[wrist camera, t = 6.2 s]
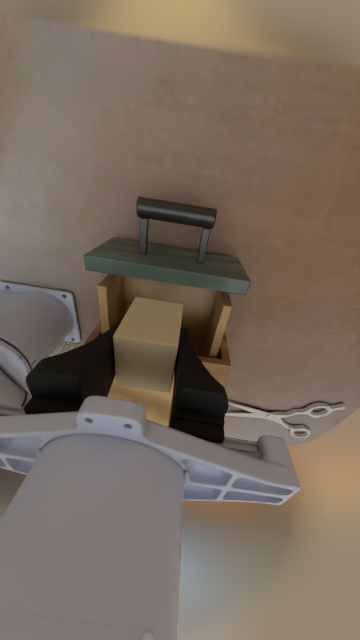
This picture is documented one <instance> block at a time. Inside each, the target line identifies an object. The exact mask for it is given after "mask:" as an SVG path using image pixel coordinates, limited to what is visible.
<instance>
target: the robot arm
mask: <svg viewBox="0 0 360 640" xmlns="http://www.w3.org/2000/svg"><path fill="white" fill-rule="evenodd" d="M64 294H65V295H66V296H64ZM122 320H123V319H122ZM122 320H120V321H119V322H118V323H117V324H115V325H114V326H113V327H111V328H110V329H109V330H107V331H106V332H105V333H103V334H102V335H100V336H99V337H97V338H95V339H94V340H92V341H90V342H88V343H86V344H84V345H82V346H80V347H78V348H75V349H73V350H70V351H68V352H65V353H62V354H59V355H55V356H52V357H49V356H50V355H51V354H52V353H53V351H54V350H55V349H56V348H57V347H58V346H59V345H60V343H61V342H62V341H63V340H64V341H70V342H77V343H78V342H80V341H81V336H80V330H79V324H78V319H77V313H76V307H75V301H74V296H73V294H72V293H71V292H67V291H60V290H54V289H47V288H41V287H35V286H28V285H22V284H16V283H9V282H3V281H0V468H4V469H8V470H11V471H15V472H19V473H22V474H26V475H27V476H26V478H25V480H24V481H23V483H22V485H21V486H20V488H19V490H18V492H17V493H16V495H15V497H14V499H13V500H12V502H11V503H10V505H9V507H8V508H7V510H6V512H5V513H4V515H3V517H2V518H1V520H0V640H176V638H177V620H178V600H179V599H178V598H179V579H180V558H181V539H182V519H183V500H194V501H197V500H198V501H237V502H255V503H265V504H274V505H281V504H283V503H284V502H285V501H286V500H288V499H289V498H290V497H291V496H293V495H294V494H295V493H296V492H298V491H299V490H300V489H301V487H300V485H299V481H298V478H297V475H296V472H295V469H294V467H293V463H292V460H291V457H290V455H289V452H288V449H287V446H286V443H285V440H284V439H283V438H280V437H273V436H261V437H260V438H259V439H258V441H257V442H254V441H248V440H241V439H234V438H228V437H224V428H223V426H224V416H225V414H226V412H227V410H228V406H229V404H228V398H227V394H226V391H225V388H224V386H222V385H221V384H220V383H219V382H218V381H217V380H216V379H215V378H214V377H213V376H212V375H211V374H210V372H209V371H208V370H207V369H206V367H205V366H204V365H203V363H202V362H201V360H200V358H199V357H198V355H197V353H196V351H195V348H194V346H193V344H192V341H191V338H190V335H189V330H188V329H187V328H181V329H180V337H179V345H178V351H177V357H176V363H175V369H174V388H173V396H172V403H171V410H170V418H169V425H168V427H167V426H164V425H161V424H159V423H156V422H153V421H150V420H148V419H146V410H145V407H144V406H142V405H141V404H140V403H138V402H135V401H131V400H124V399H117V398H111V397H108V394H109V391H110V388H111V386H112V383H113V380H114V378H115V375H116V373H115V357H114V341H113V336H114V334H115V332H116V330H117V328H118V327H119V325H120V323H121V321H122ZM73 338H74V339H73ZM28 390H29V391H30V393H31V395H32V398H31V395H30V393H29V392H28Z"/></svg>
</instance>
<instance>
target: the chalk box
mask: <svg viewBox="0 0 360 640" xmlns="http://www.w3.org/2000/svg"><path fill="white" fill-rule="evenodd" d="M183 306H184V305H183V304H178V303H172V302H166V301H159V300H153V299H146V298H140V297H135V299H134V300H133V302H132V304H131V306H130V307H129V309H128V311H127V313H126V314H125V316H124V318H123V320H122V321H121V323H120V325H119V327H118V328H117V330H116V332H115V334H114V336H113V341H114V357H115V373H116V385H119V386H125V387H132V388H139V389H145V390H152V391H158V392H165V393H170V392H171V386H172V380H173V375H174V369H175V363H176V357H177V351H178V345H179V337H180V329H181V322H182V314H183Z"/></svg>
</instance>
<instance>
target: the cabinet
mask: <svg viewBox="0 0 360 640" xmlns="http://www.w3.org/2000/svg"><path fill="white" fill-rule="evenodd" d="M100 335H102V332H101V321H100V322H99V324H98V325H97V327H96V328H95V329H94V331H93V332H92V333H91V335H90V336H89V338H88V339H87V340H86V342H85V343H84V344H86V343H88V342H90V341H92V340H94V339H95V338H97V337H99V336H100ZM198 357H199V358H200V360H201V362H202V363H203V365H204V366H205V367H206V369H207V370H208V371H209V372H210V374H211V375H212V376H213V377H214V378H215V379H216V380H217V381H218V382H219V383H220V384H221V385H222V386H223V385H224V383H225V380H226V378H227V375H228V373H229V370H230V367H231V364H230V358H229V353H228V347H227V341H226V336H225V332H224V335H223V338H222V341H221V344H220V347H219V350H218V353H217V357H216V358H210V357H203V356H198ZM173 388H174V375H173V380H172V386H171V392H170V393H165V392H158V391H152V390H145V389H139V388H132V387H125V386H119V385H116V375H115V378H114V380H113V383H112V386H111V388H110V391H109V394H108V397H111V398H117V399H124V400H131V401H135V402H138V403H140V404H141V405H142V406H144V407H145V410H146V419H148V420H150V421H153V422H156V423H159V424H161V425H164V426H167V427H168V425H169V418H170V410H171V403H172V396H173Z"/></svg>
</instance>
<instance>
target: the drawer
mask: <svg viewBox="0 0 360 640" xmlns="http://www.w3.org/2000/svg"><path fill="white" fill-rule="evenodd" d="M136 209H137V216H138V217H141V218H140V241H139V242H137V241H131V240H125V239H118V238H111V239H110V240H108V241H106V242H105V243H103V244H101V245H100V246H98V247H96V248H95V249H93V250H92V251H90V252H88V253H87V254H85V255H84V261H85V269H86V270H90V271H96V272H102V273H109V274H108V275H107V276H106V277H105V278H104V279H103V280H102V281H101V282H100V283H99V284H98V285H97V291H98V301H99V311H100V321H101V332H102V334H103V333H105V332H106V331H107V330H109V329H110V328H111V327H113V326H114V325H115V324H117V323H118V322H119V321H120V320H122V319H123V318H124V316H125V314H126V313H127V311H128V309H129V307H130V306H131V304H132V302H133V300H134V299H135V297H140V298H146V299H153V300H159V301H166V302H172V303H178V304H183V305H184V306H183V314H182V322H181V328H187V329H188V330H189V335H190V338H191V341H192V344H193V346H194V348H195V351H196V353H197V355H198V356H203V357H210V358H216V357H217V353H218V350H219V347H220V344H221V341H222V338H223V335H224V332H225V329H226V326H227V322H228V319H229V316H230V313H231V310H232V304H231V300H230V297H229V293H235V294H242V295H246V294H247V291H248V289H249V286H250V283H251V281H250V279H249V277H248V275H247V274H246V272H245V270H244V268H243V266H242V264H241V263H240V261H239V259H238V258H237V257H231V256H225V255H218V254H212V253H206V248H207V243H208V239H209V234H210V229H213V227H214V224H215V219H216V214H217V210H216V209H213V208H207V207H201V206H194V205H188V204H182V203H176V202H170V201H164V200H157V199H151V198H145V197H138V200H137V207H136ZM149 219H154V220H160V221H166V222H173V223H179V224H185V225H191V226H197V227H203V229H202V234H201V240H200V245H199V251H193V250H187V249H181V248H175V247H168V246H162V245H156V244H150V243H148V226H149ZM228 292H229V293H228Z"/></svg>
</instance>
